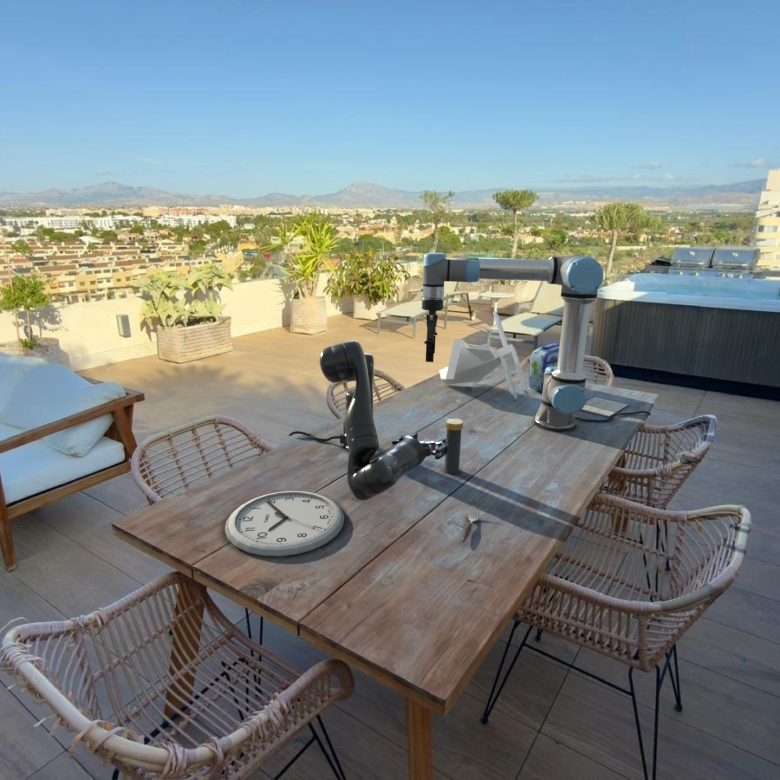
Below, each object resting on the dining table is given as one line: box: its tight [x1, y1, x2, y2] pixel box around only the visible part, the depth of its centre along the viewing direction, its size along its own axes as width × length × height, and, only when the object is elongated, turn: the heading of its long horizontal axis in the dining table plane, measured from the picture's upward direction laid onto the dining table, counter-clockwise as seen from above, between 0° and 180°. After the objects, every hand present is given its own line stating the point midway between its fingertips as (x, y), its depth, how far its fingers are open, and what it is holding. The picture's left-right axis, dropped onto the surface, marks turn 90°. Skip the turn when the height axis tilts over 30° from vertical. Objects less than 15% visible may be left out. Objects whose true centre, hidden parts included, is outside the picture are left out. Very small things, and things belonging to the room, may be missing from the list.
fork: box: [462, 505, 481, 543], centre depth 133 cm, size 3×16×2 cm, turn 160°
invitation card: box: [580, 396, 629, 418], centre depth 226 cm, size 21×1×15 cm
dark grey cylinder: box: [444, 428, 462, 475], centre depth 162 cm, size 4×4×16 cm
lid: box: [445, 418, 464, 431], centre depth 160 cm, size 5×5×2 cm
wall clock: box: [224, 490, 345, 557], centre depth 134 cm, size 30×2×30 cm
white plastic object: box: [438, 310, 531, 400], centre depth 245 cm, size 37×45×31 cm
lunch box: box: [528, 343, 560, 392], centre depth 249 cm, size 26×11×21 cm, turn 134°
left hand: (430, 439), depth 143 cm, fingers open, 8 cm apart
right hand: (430, 357), depth 190 cm, fingers open, 13 cm apart
